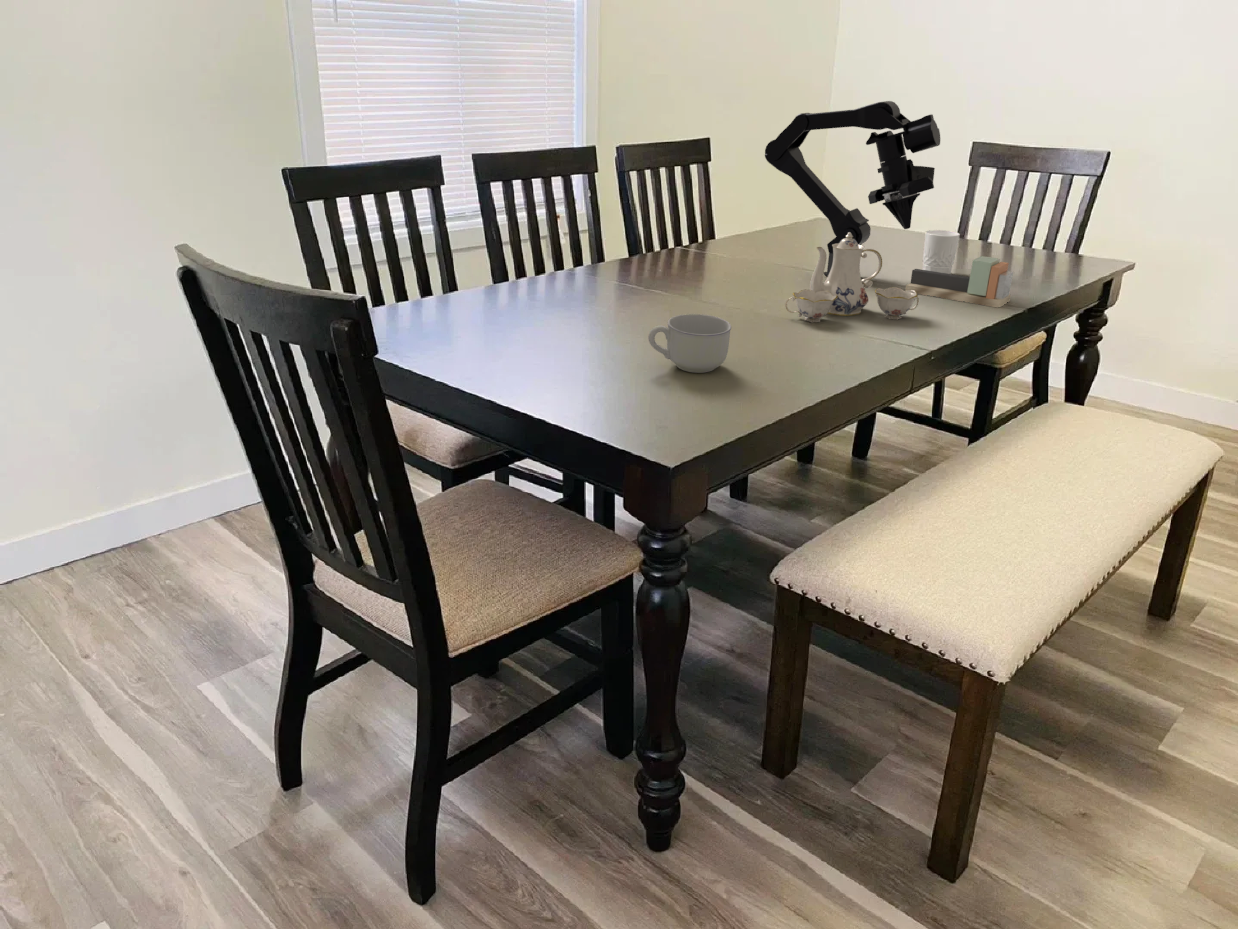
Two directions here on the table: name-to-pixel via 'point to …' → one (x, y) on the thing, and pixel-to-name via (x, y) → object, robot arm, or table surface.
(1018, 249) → the table surface
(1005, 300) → the track board
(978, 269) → the sleeve
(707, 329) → the teacup
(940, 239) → the white cup
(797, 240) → the table surface
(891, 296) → the chinaware
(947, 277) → the rail
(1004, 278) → the connector
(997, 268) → the band
